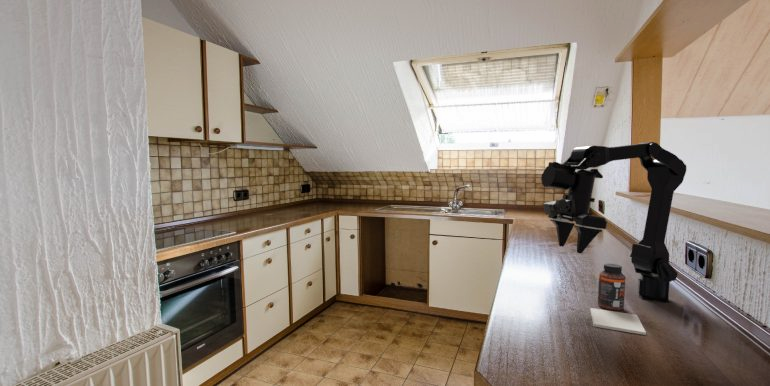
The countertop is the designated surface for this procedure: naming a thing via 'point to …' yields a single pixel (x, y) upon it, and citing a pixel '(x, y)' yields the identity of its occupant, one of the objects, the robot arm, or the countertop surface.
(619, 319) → the mat
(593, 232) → the robot arm
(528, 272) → the countertop surface
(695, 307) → the countertop surface
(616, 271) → the supplement bottle
